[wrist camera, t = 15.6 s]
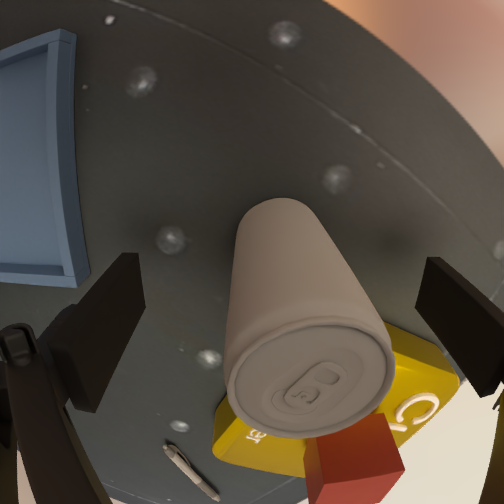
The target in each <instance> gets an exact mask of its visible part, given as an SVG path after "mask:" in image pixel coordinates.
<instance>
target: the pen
mask: <svg viewBox="0 0 504 504" xmlns="http://www.w3.org/2000/svg"><path fill="white" fill-rule="evenodd" d="M163 450H164V452H165V453H166V455H167V456H168V457H169V458H170V459H171V460H172V461H173V462H174V463H175V464H176V465H177V466H178V467H179V468H180V469H181V470H182V471H183V472H184V473H185V474H186V475H187V476H188V477H189V478H190V479H191V480H192V481H193V482H194V483H195V484H196V485H197V486H198V487H199V488H200V489H201V490H203V491H204V492H205V493H206V494H207V495H208V496H209V497H210V498H212V499H213V500H215V501H220V497H219V496H218V494H217V493H216V492H215V491H214V490H213V489H212V488H211V487H210V486H209V485H208V484H207V483H206V482H205V481H204V480H203V479H202V478H201V477H199V476H198V475H197V474H196V473H195V472H194V471H193V470H192V469H191V466H190V464H189V462H188V460H187V459H186V457H185V456H184V455H183V454H182V453H181V451H180V450H179V449H178V448H177V447H175V446H173V445H165V444H164V445H163ZM177 452H178V453H179V454H180V455H181V456H183V458H184V459H185V460H186V462H187V463H188V464H187V463H186V462H185V461H184V460H183V459H182V458H181V457H180V456H179V455H178V454H177Z"/></svg>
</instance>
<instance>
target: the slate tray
mask: <svg viewBox="0 0 504 504" xmlns="http://www.w3.org/2000/svg"><path fill="white" fill-rule="evenodd" d="M76 40H77V35H76V34H74V33H71V32H68V31H66V30H63V29H61V28H60V29H56V30H53V31H50V32H47V33H44V34H41V35H38V36H36V37H33V38H30V39H28V40H25V41H22V42H20V43H17V44H15V45H12V46H10V47H8V48H5V49H3V50H1V51H0V282H9V283H20V284H31V285H43V286H56V287H69V288H78V287H79V286H80V284H81V283H82V282H83V281H84V280H85V279H86V278H87V277H88V276H89V274H90V269H89V263H88V258H87V252H86V246H85V240H84V233H83V227H82V219H81V212H80V203H79V194H78V184H77V173H76V159H75V140H74V71H75V53H76Z"/></svg>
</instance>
